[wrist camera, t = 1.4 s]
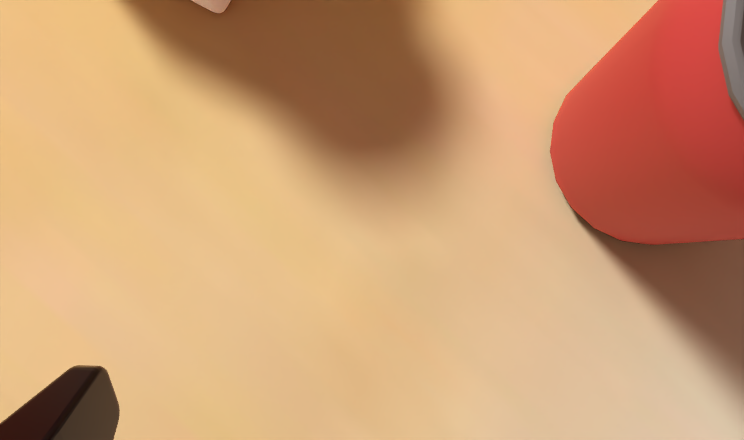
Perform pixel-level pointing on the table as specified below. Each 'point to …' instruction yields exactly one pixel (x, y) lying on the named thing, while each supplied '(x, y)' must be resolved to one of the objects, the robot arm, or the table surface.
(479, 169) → the table surface
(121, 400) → the table surface
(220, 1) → the medicine bottle
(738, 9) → the beer can
